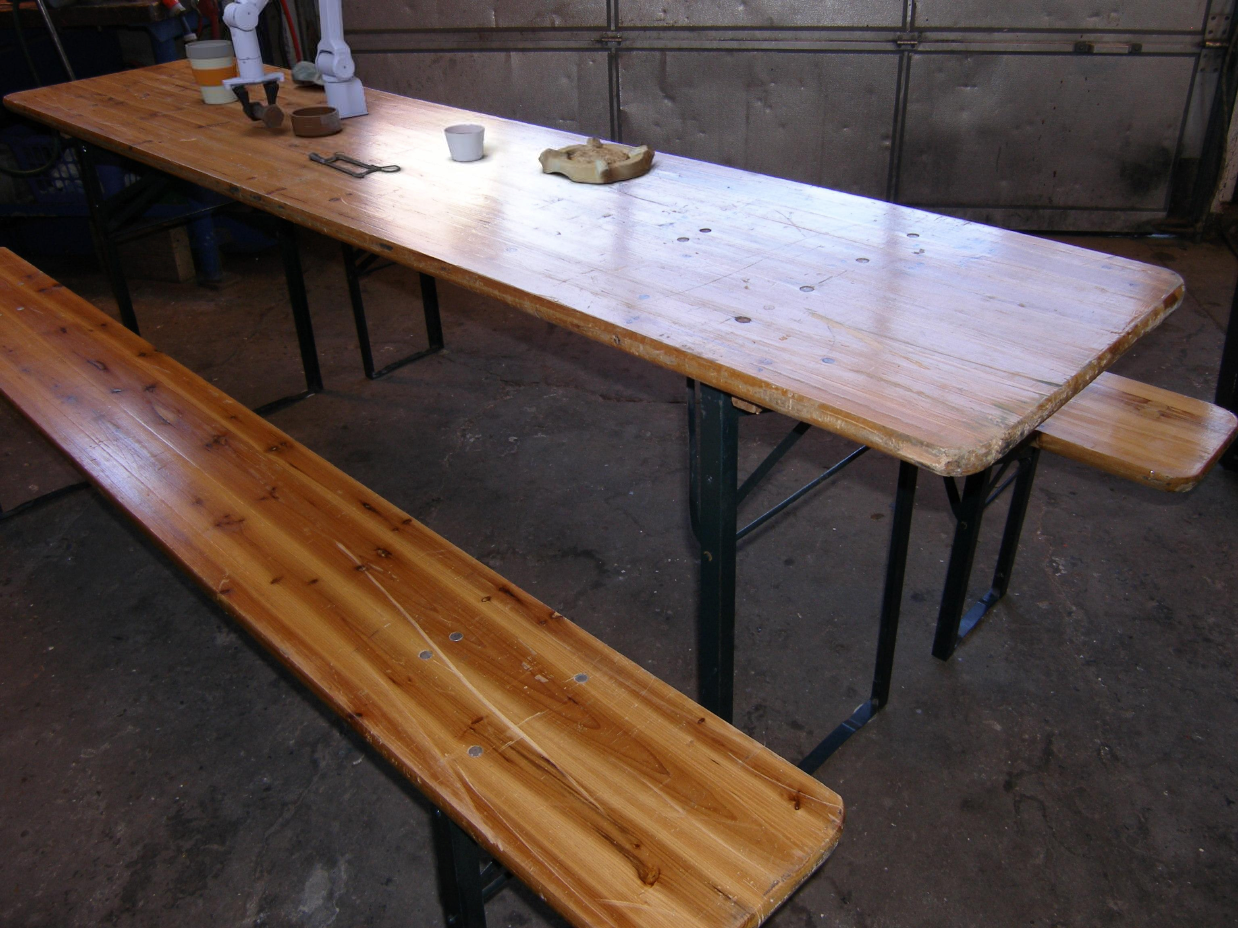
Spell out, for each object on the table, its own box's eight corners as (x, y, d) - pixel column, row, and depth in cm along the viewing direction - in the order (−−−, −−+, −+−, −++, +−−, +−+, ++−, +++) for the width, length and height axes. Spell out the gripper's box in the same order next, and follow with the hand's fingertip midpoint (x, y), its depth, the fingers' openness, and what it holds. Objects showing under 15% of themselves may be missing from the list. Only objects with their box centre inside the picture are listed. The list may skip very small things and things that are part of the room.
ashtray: (571, 192, 195) (570, 167, 192) (526, 164, 213) (524, 141, 210) (673, 174, 204) (673, 150, 201) (621, 149, 222) (620, 127, 219)
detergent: (285, 87, 287) (333, 97, 272) (282, 62, 284) (329, 69, 269) (324, 84, 296) (372, 93, 281) (321, 59, 292) (369, 66, 278)
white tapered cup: (471, 150, 224) (468, 122, 220) (495, 157, 218) (492, 128, 215) (439, 158, 218) (435, 129, 215) (463, 165, 213) (460, 136, 210)
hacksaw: (306, 159, 220) (305, 153, 219) (346, 150, 226) (345, 144, 225) (363, 180, 205) (361, 173, 204) (404, 170, 211) (403, 163, 210)
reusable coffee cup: (253, 98, 276) (241, 42, 268) (217, 107, 267) (204, 49, 259) (225, 94, 282) (212, 39, 274) (188, 102, 273) (174, 45, 265)
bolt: (254, 124, 248) (280, 132, 238) (235, 117, 244) (260, 124, 234) (260, 101, 247) (286, 108, 237) (241, 94, 243) (267, 101, 233)
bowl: (330, 124, 248) (326, 104, 245) (349, 132, 240) (345, 112, 237) (286, 131, 242) (282, 111, 240) (304, 140, 234) (300, 119, 232)
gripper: (224, 64, 227) (238, 123, 235) (284, 56, 234) (295, 114, 242) (214, 60, 232) (228, 118, 239) (273, 52, 239) (285, 109, 247)
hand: (261, 115), depth 241 cm, fingers closed on bolt, 5 cm apart
